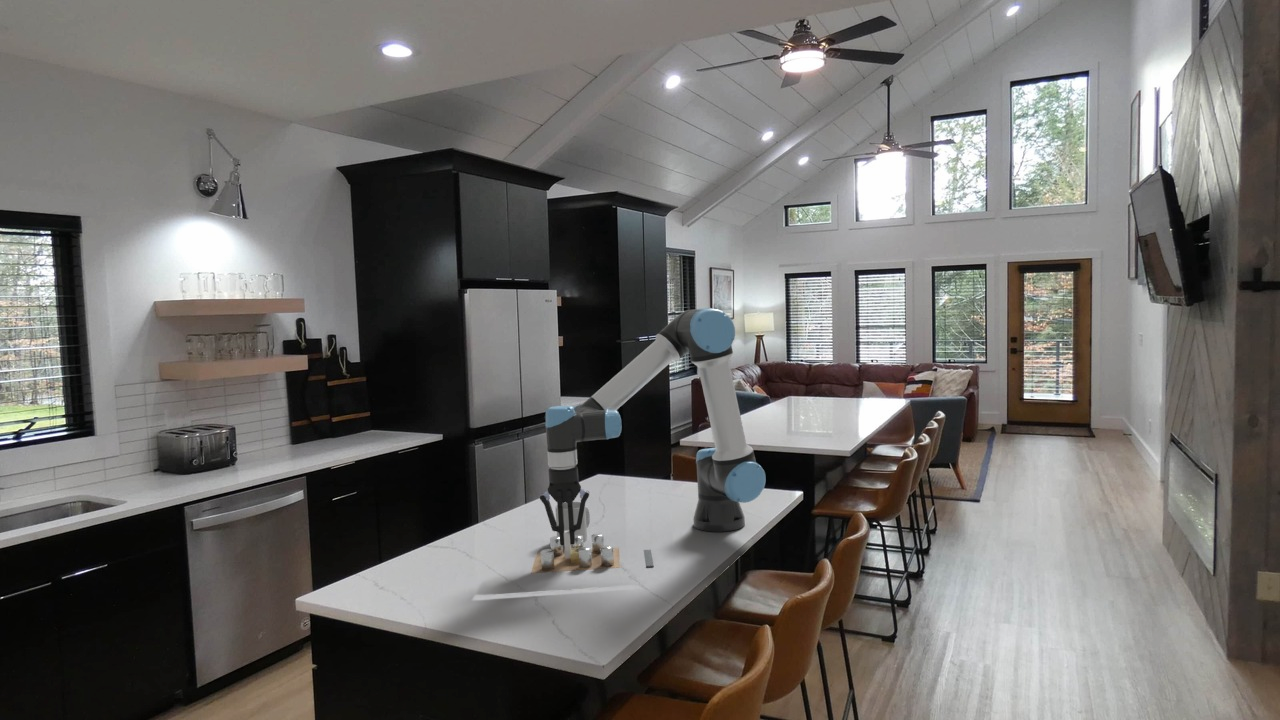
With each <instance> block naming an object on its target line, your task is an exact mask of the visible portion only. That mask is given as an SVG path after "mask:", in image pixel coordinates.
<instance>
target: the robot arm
mask: <svg viewBox="0 0 1280 720" xmlns="http://www.w3.org/2000/svg"><path fill="white" fill-rule="evenodd" d="M735 338H736V327H735V325H734V321H733V320H732V318H731V317H730V316H729V315H728V314H727V313H726V312H724V311H722V310H721V309H715V308H711V307H707V308H698V309H695V308H693V309H688V310H684V311H683V312H681V313H680V314H678V315H677V316H676V317H674V319H672V321H670V322H669V323H668V324H667V325H665V326H664V327H663V328H662V329H661V330H660V331H659V332H658V333H657V334H655V340H654V341H653V342H652V343H651V344H650V345H649V346H647V347H646V348H644V350H643V351H642V352H641V353H640V354H638V355H637V356H636V357H634V358H633V359H632V360H631V361H629V363H628V364H627V365H626V366H624V367H623V368H622V369H621V370H620V371H619V372H618V373H616V374H615V375H614V376H613V377H612V378H611V379H610V380H609V381H607V382H606V383H605V384H604V385H602V387H600V389H598V390H597V391H596V392H594V393H593V394H592V395H591V396H590V397H589V398H588V399H587V400H586V401H584V402H583V403H581V404H578V405H575V406H572V405H557V406H551V407H548V408H547V409H546V411H545V424H544V425H545V434H546V446H547V448H546V449H547V465H548V466H547V467H549V468H548V487H547V490H546V491H545V492H543V493H541V494H540V495H539V499H540V501H541V502H542V503H543V505H544V508H545V512H546V515H547V518H548V521H549V524H550V527H551V531H552V532H556V533H557V532H559V535H560V544H561V545H563V546H564V551H565V559H567V558H571V544H574V543H575V531H576V530H580V528H581V524H582V518H583V513H584V508H585V506H586V502H587V500H588V498H589V497H590V491H589V490H585V489H583V488H582V486H581V484H580V481H579V468H578V466H577V465H578V448H577V447H578V446H577V443H581V442H589V441H597V440H600V441H601V440H609V439H615V438H619V437H620V436H621V433H622V428H623V427H622V418H621V415H620V413H619V411H618V410H619V409H620V407H622V406H623V405H624V404H625V403H626V402H627V401H628V400H630V399H631V398H632V397H633V396H634V395H635V394H637V393H638V392H639V391H641V389H643V387H644V386H645V385H647V384H648V383H649V382H650V381H651V380H652V379H654V378H655V377H656V376H657V375H658V374H659V373H661V372H662V370H664V369H666V367H667V366H668V365H669V364H671V363H672V362H674V361H679V360H680V359H681V358H682V357H684V356H686V355H687V354H689V357H690V362H691V363H692V364H694V365H695V366H696V367H697V368H698V373H699V379H700V382H701V386H702V387H701V388H702V390H703V391H702V392H703V397H704V400H705V405H706V409H707V414H708V419H709V422H710V423H709V425H710V428H711V432H712V437H713V438H712V439H713V442H714V443H713V444H714V446H715V447H710V448H709V447H708V448H702V449H699V450H698V451H697V452H696V456H695V457H696V460H695V464H696V477H697V478H696V480H697V494H698V495H697V496H698V497H697V499H698V500H697V504H696V508H695V512H694V514H693V519H692V520H693V527H694V528H696V529H697V530H700V531H706V532H715V533H716V532H720V533H722V532H730V531H735V530H739V529H741V528H744V526H745V525H746V524H745V523H746V520H745V519H746V518H745V515H744V512H743V509H742V507H741V504H742V503H743V504H744V503H751V502H752V501H755V500H756V499H757V498H758V497H760V495H761V493H762V492H763V490H764V489H765V486H766V481H767V480H766V477H767V476H766V472H765V470H764V469H763V467H762V466H761V465H760V464H759V463H758V462H757V461H756V457H755V453H754V449H753V447H752V446H751V445H749V444H748V443H747V440H746V435H745V432H744V431H745V430H744V427H743V421H742V417H741V411H740V407H739V403H738V398H737V397H738V396H737V393H736V388H735V384H734V379H733V374H732V369H731V365H730V359H731V357H732V356H733V354H734V352H733V345H732V344H733V342H734V341H735ZM578 495H579V498H580V502H581V503H580V509H579V514H578V519H577V524H575V525H574V513H573V502H575V499H576V498H577V496H578ZM551 497H552V499H553V500H554V501H555V502H556V503H557V506H558V520H559V526H558V525H557V523H556V516H555V515H554V511H553V507H552V504H551V502H550V498H551ZM563 503H567V505H568V519H569V530H568V531H564V513H563ZM740 503H741V504H740Z"/></svg>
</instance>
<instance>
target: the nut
mask: <svg viewBox="0 0 1280 720" xmlns="http://www.w3.org/2000/svg"><path fill="white" fill-rule="evenodd" d="M571 563H579V548H572V549H571Z"/></svg>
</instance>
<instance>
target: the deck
mask: <svg viewBox="0 0 1280 720" xmlns="http://www.w3.org/2000/svg"><path fill="white" fill-rule="evenodd" d="M591 553H592V548H591ZM613 554H614V565H613V566H611V567H603V566H601V553H600V554H594V553H592V567H590V568H580V566H579V563H571V558H567V559H565V550H563V555H561V556H554V569H553V570H550V571H543V570H542V567H541V552H537V553H536V555H535V559H534V562H533V566H532V569H531V571H530V574H543V573H557V572H570V571H571V572H573V571H588V570H602V569H616V568H619V569H620V568H621V567H620V566H621V565H620V547H613Z"/></svg>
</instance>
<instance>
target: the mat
mask: <svg viewBox="0 0 1280 720" xmlns="http://www.w3.org/2000/svg"><path fill="white" fill-rule="evenodd" d="M643 556H644V557H643V558H644V562H645V568H654V566H655V565H654V561H653V559H654V558H653V554H652V550H651V549H643Z"/></svg>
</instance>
